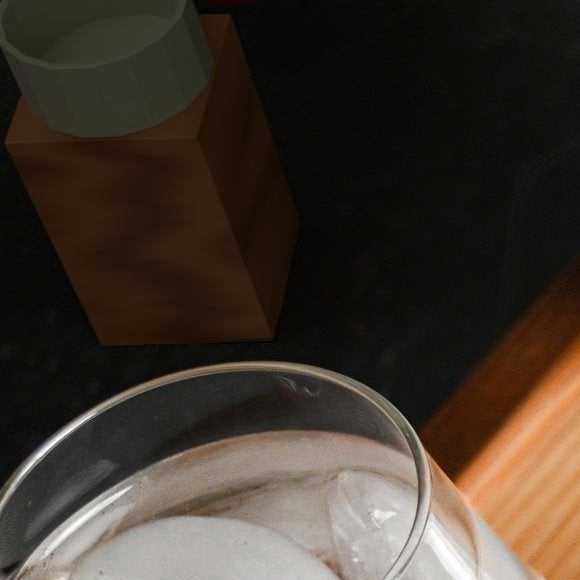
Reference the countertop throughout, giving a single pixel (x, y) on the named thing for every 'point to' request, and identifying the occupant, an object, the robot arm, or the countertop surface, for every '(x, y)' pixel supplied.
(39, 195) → the riser
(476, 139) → the countertop surface
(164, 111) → the bowl
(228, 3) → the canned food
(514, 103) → the countertop surface
